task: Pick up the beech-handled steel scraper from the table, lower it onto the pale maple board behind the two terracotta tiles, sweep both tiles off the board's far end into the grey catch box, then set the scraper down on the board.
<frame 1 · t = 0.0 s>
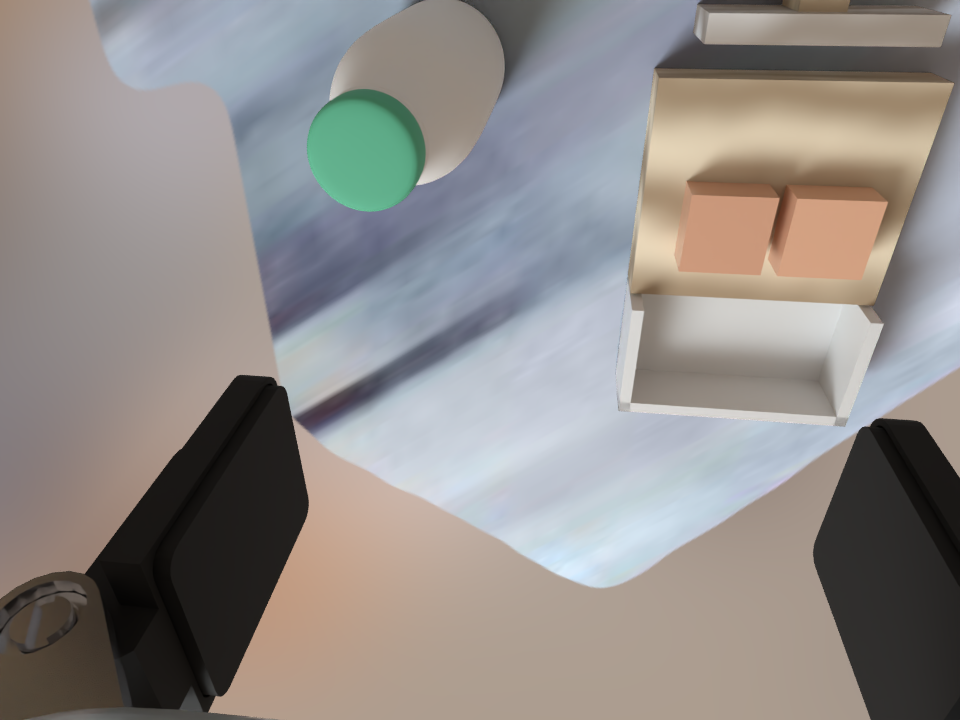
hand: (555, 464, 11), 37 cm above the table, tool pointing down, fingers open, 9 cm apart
tile 2: (720, 220, 43), point 3 cm above the table, touching board
board: (763, 184, 44), on the table
catch box: (728, 333, 51), on the table
tile 1: (818, 224, 42), point 3 cm above the table, touching board
milk bottle: (446, 64, 43), on the table
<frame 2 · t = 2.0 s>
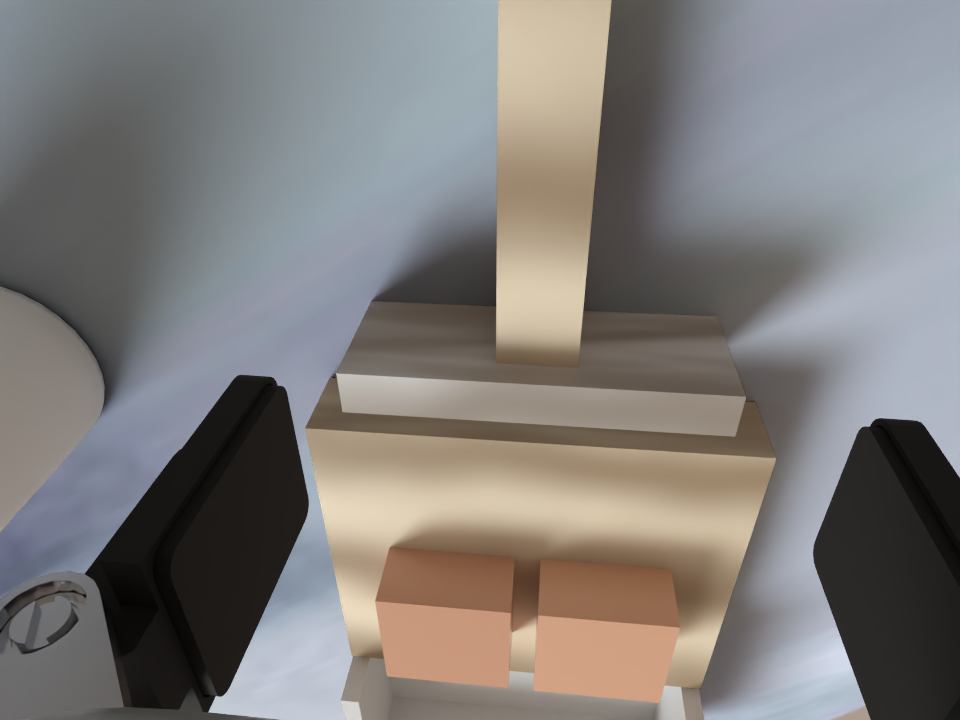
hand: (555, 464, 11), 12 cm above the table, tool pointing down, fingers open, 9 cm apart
scraper: (548, 149, 20), on the table
tile 2: (453, 591, 28), point 3 cm above the table, touching board
board: (530, 517, 29), on the table
catch box: (522, 665, 36), on the table
tile 1: (599, 604, 27), point 3 cm above the table, touching board
milk bottle: (20, 357, 27), on the table
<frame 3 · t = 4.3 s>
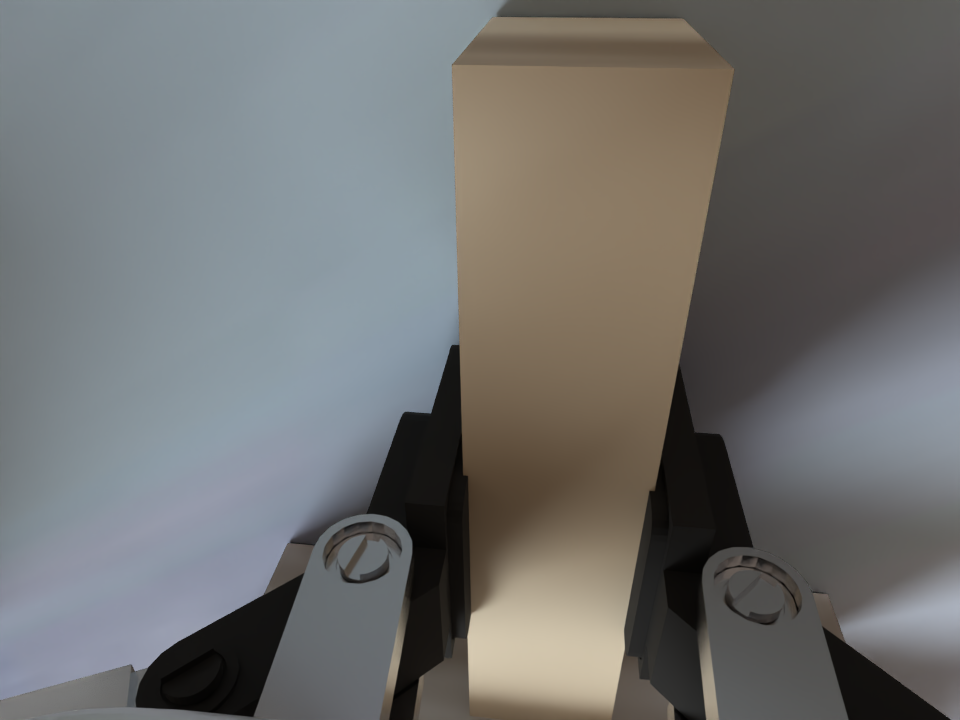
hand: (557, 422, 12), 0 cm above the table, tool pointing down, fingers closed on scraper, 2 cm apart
scraper: (561, 362, 12), on the table, touching gripper
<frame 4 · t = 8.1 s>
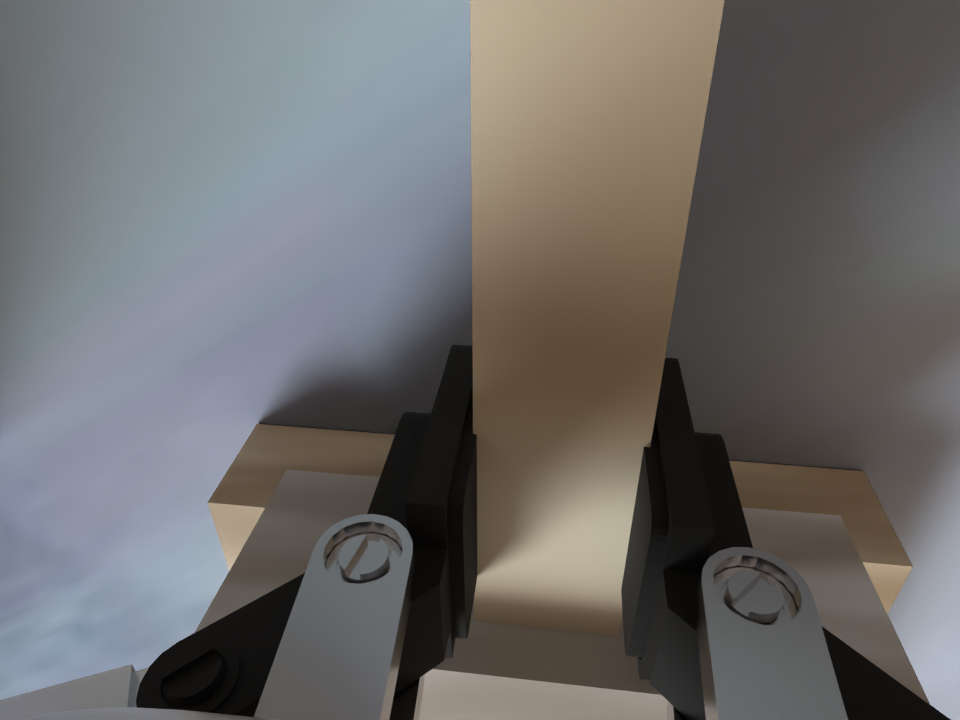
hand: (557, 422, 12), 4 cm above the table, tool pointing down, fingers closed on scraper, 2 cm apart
scraper: (569, 254, 12), point 3 cm above the table, touching board, gripper
board: (535, 611, 22), on the table
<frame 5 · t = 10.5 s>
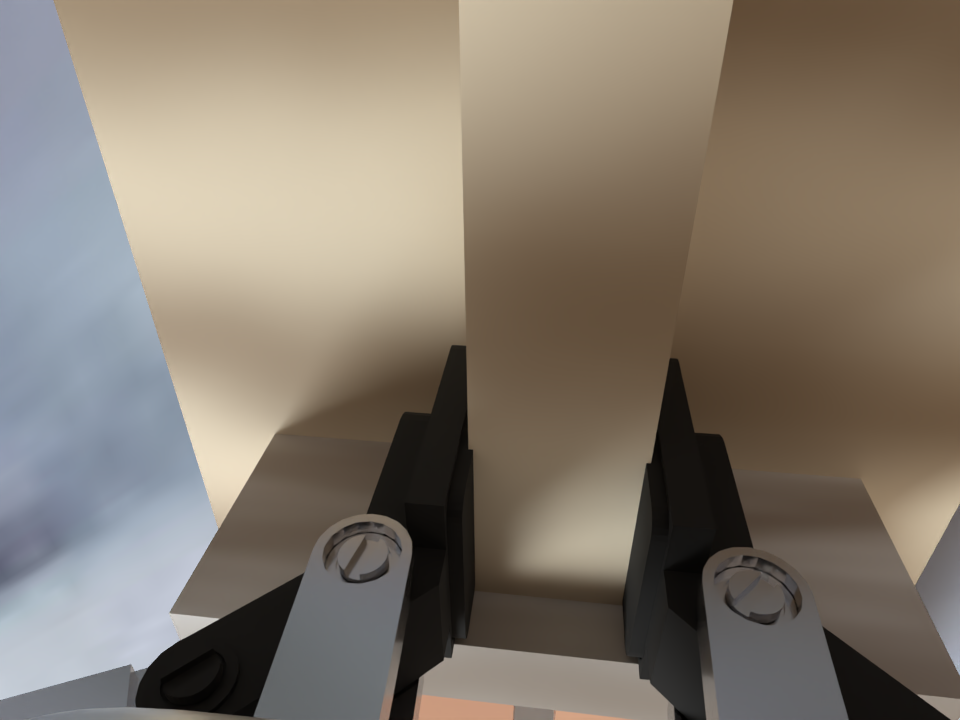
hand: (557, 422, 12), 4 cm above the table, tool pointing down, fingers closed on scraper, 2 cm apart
scraper: (572, 196, 11), point 3 cm above the table, touching gripper, tile 1
tile 2: (420, 570, 16), point 3 cm above the table, touching board
board: (563, 287, 15), on the table
catch box: (539, 610, 21), on the table
tile 1: (668, 594, 16), point 3 cm above the table, touching scraper
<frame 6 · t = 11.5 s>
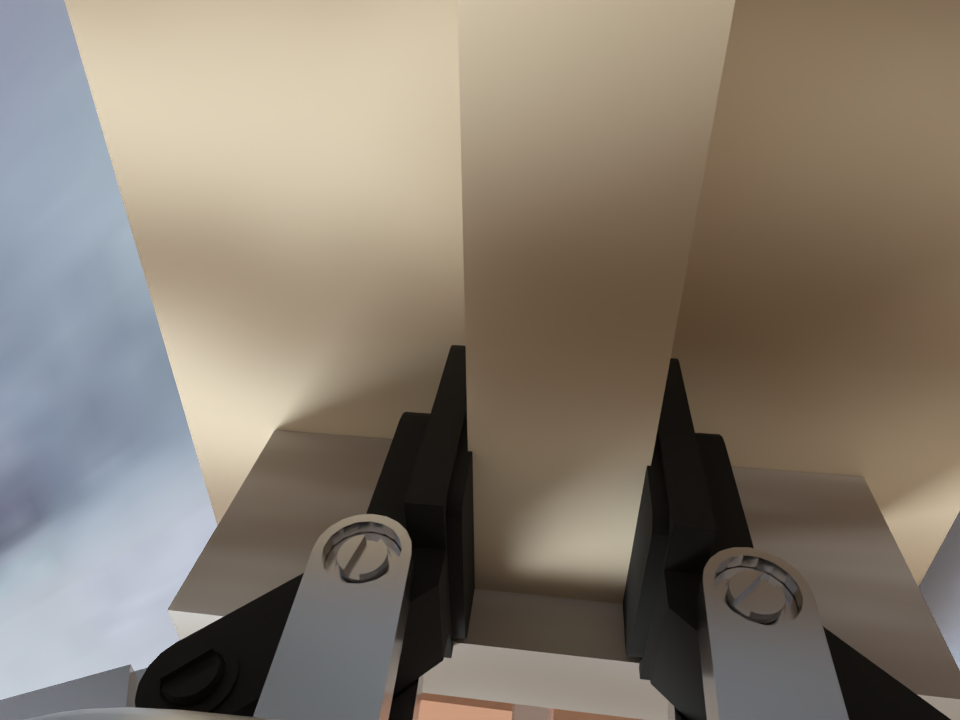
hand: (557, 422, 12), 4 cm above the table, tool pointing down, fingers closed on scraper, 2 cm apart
scraper: (574, 191, 11), point 3 cm above the table, touching board, gripper
tile 2: (422, 602, 17), point 3 cm above the table, tilted 90°, touching catch box
board: (571, 226, 14), on the table
catch box: (541, 584, 20), on the table
tile 1: (660, 633, 16), point 3 cm above the table, tilted 92°, touching catch box
when the fingers open (4 cm above the table, at t = 12.4 s): scraper stays where it is, resting on board.
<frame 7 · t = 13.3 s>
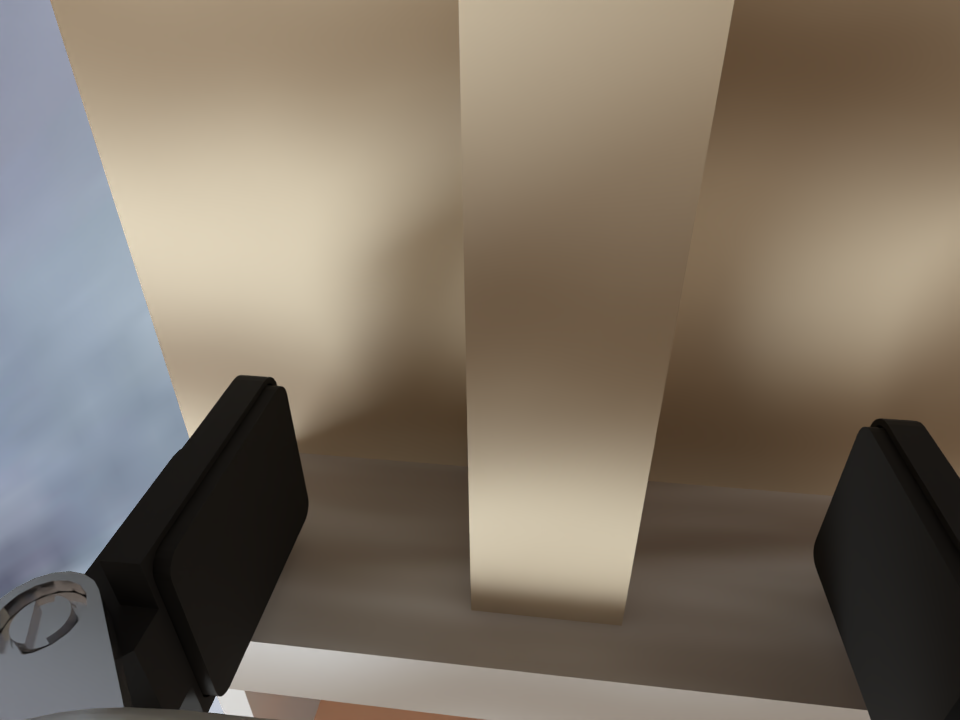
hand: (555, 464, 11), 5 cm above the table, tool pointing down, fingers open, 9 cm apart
scraper: (570, 225, 11), point 3 cm above the table, touching board
tile 2: (428, 654, 18), point 3 cm above the table, tilted 90°, touching catch box
board: (561, 317, 15), on the table
catch box: (540, 625, 22), on the table
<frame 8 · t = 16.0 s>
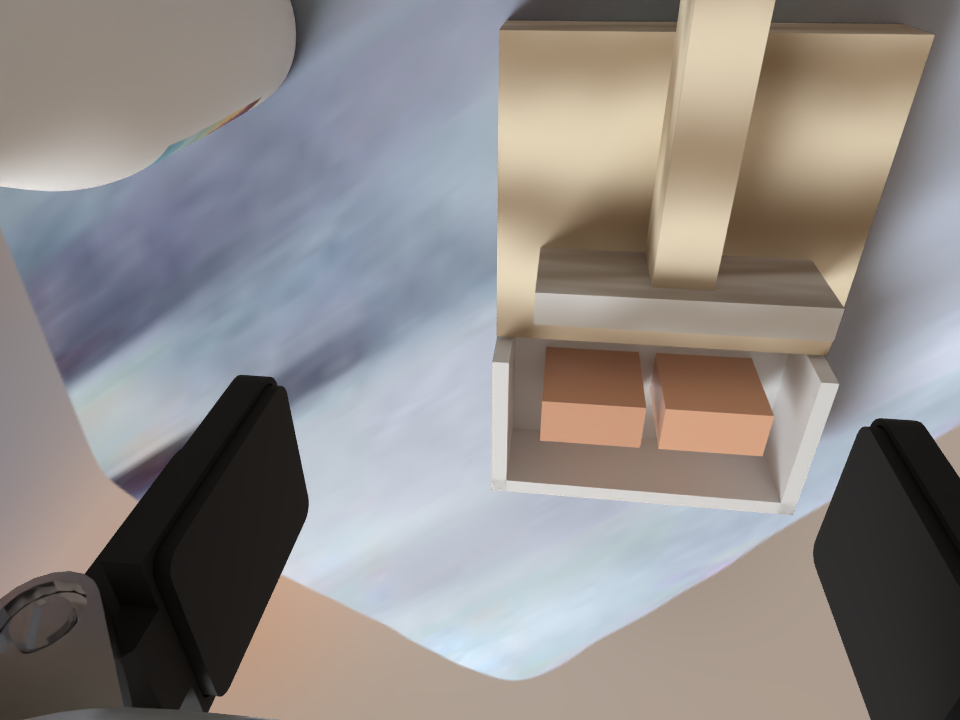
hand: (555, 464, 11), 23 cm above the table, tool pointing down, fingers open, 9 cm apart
scraper: (693, 128, 27), point 3 cm above the table, touching board
tile 2: (592, 375, 34), point 3 cm above the table, tilted 90°, touching catch box
board: (672, 186, 32), on the table
catch box: (641, 384, 38), on the table
tile 1: (710, 382, 34), point 3 cm above the table, tilted 90°, touching catch box
milk bottle: (219, 17, 30), on the table
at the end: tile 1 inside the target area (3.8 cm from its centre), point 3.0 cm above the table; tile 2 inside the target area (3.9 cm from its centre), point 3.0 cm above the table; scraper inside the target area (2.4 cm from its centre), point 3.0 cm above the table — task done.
